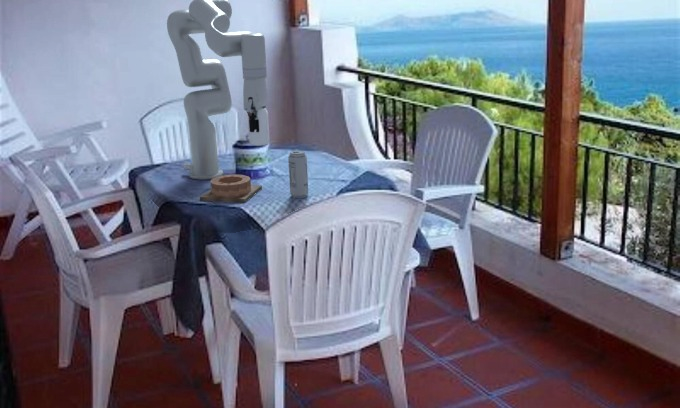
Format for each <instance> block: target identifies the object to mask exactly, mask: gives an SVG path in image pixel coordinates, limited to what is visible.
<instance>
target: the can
mask: <svg viewBox="0 0 680 408" xmlns="http://www.w3.org/2000/svg"><path fill="white" fill-rule="evenodd" d="M252 110H256V109H255V108H252ZM254 114H255V112H254ZM258 120H259V132H256V130H254V132H250V129H249V128H248V139H249V144H250V145H251V146H252V147H264V146H268V145H269V143H270V127H269V126H270V125H269V112H268V110H267V105H266V106H265V107H264V108H262V109H260V110H258ZM247 123H248V127H249V119H248V118H247Z"/></svg>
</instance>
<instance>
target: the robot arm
mask: <svg viewBox="0 0 680 408" xmlns="http://www.w3.org/2000/svg"><path fill="white" fill-rule="evenodd" d="M232 12H233V9H232V5H231V3H230V2H229V0H192V1H191V2H190V3H189V5H188V8H186V9H179V10H175V11H173V12H170V13H169V15H168V16H167V20H166V30H167V34H168V36H169V39H170V41H171V43H172V45H173V47H174V49H175V52H176V56H177V57H176V58H177V61H178V66H179V71H180V74H181V78H182V82H183V84H184V85H185V86H186V87H187V88H199V87H200V88H201V87H207V86H211V88H209V89H207V88H206V89H200V90H194V91H191V92H188V93H187V94H186V95H185V96H184V98H183V108H184V111H185V115H186V120H187V125H188V134H189V143H190V153H191V156H190V157H191V164H189V163H184V164H183V165H182V167H183V170H184V171H189V173H188V177H189V178H190V179H193V180H203V181H205V180H212V179H213V178H216V177H219V176H224V171H223V169H220V168H219V156H218V145H217V144H218V143H217V133H216V127H215V125H214V123H213V122H212V121H211V120H210V118H209V117H212V116H217V115H221V114H222V115H223V114H224V115H225V114H227V113H229V112H230V110H231V109H232V105H233V104H232V96H231V91H230V87H229V86H230V85H229V82H228V77H227V72H226V70H225V67H224V65H223V63H222V62H221V61H220V60H219V59H217V58H207V59H204V58H203V56H202V53H201V52H202V51H201V48H200V45H199V44H198V43H197V42H196V41H195V39H193V38H192V37H191V36H190V35H191V34H192V35H194V34H195V35H196V34H197V35H198V34H204V37H205V41H206V45H207V46H208V48H209V49H210V50H211V51H212V52H213V53H214V54H216V55H217V56H219V57H221V58H231V57H232V58H233V57H239V56H240V57H241V64H242V65H241V67H242V80H243V87H242V88H243V92H242V93H243V95H242V96H243V110H244V111H246V114H247V120H248V119H249V126H248V130H249V129H250V132H254V130H256V132H259V120H258V110H260V109H262V108H264V107H265V106H266V107H267V105H268V90H267V83H266V82H267V81H266V79H267V78H268V74H267V73H268V72H267V60H266V59H267V57H266V53H267V52H266V39H265V36H264V35H263V34H262V33H259V32H252V31H247V30H246V31H242V30H241V31H231V32H229V29H230V27H231V26H230V25H231V20H230V19H231V17H232ZM252 108H255V109H256V110H252ZM254 112H255V114H254Z"/></svg>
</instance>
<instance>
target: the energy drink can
mask: <svg viewBox="0 0 680 408" xmlns="http://www.w3.org/2000/svg"><path fill="white" fill-rule="evenodd" d="M287 159H288V175H289V176H288V178H289V194H290V195H291V197H292V198H294V199H303V198H306V197H307V196H308V194H309V180H308V179H309V178H308V161H307V160H308V157H307V155H306V153H305V150H292V151H290V152H289V154H288V158H287Z"/></svg>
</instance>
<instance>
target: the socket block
mask: <svg viewBox="0 0 680 408" xmlns="http://www.w3.org/2000/svg"><path fill="white" fill-rule="evenodd" d="M251 183H252V180H251V178H250V176H249V175H248V176H247V175H244V174H228V175H227V174H225V175H224V174H223V175H222V176H219V177H216V178H213V179H210V189H209V190H208V191H206V192H205V193H203V194H202V195H200V196H199V201H201V202H202V201H203V202H204V201H205V202H225V203H226V202H227V203H244V202H245V203H246V201H247V200H248V199H249V198H250V199H251V198H253V197H254V196H255V195H256V194H257V192H258V191H259V190H260V191H262V190H263V186H262V185H258V184H255V185H253V184H251ZM260 191H259V192H260ZM259 192H258V193H259ZM255 193H256V194H255ZM254 194H255V195H254ZM253 195H254V196H253ZM252 196H253V197H252ZM250 199H249V200H250ZM249 200H248V201H249ZM248 201H247V202H248Z"/></svg>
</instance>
